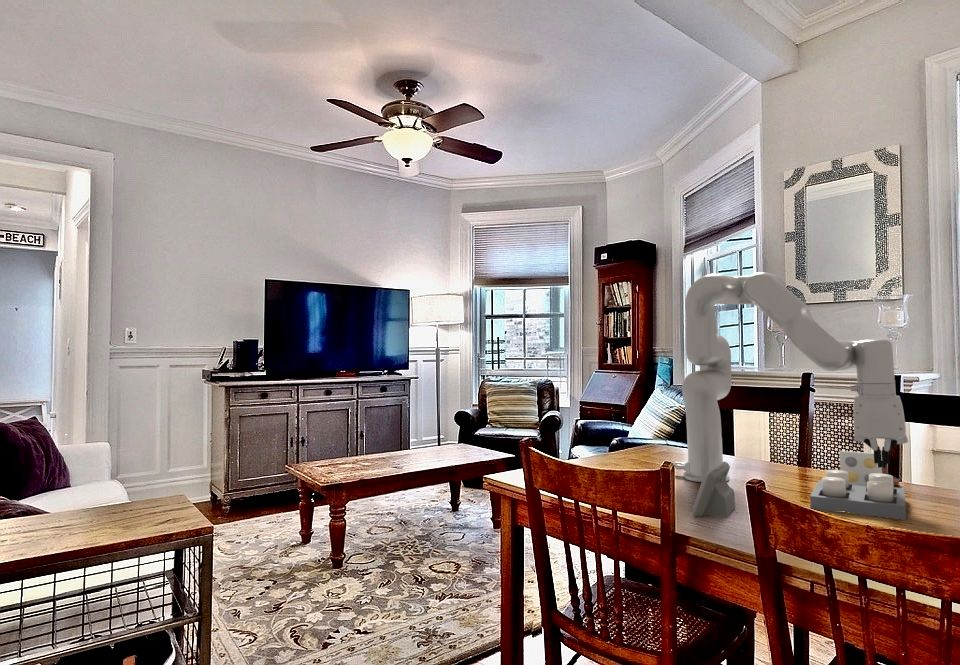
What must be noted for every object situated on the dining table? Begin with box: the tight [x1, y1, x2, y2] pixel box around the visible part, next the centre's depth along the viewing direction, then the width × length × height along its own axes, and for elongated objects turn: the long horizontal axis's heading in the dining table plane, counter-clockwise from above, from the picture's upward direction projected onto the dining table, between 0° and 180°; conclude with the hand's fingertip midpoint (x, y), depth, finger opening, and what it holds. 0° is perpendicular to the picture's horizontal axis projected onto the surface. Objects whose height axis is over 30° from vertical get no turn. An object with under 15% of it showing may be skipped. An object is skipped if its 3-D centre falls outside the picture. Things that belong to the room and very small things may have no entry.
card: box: [839, 450, 882, 485], centre depth 148 cm, size 10×3×10 cm, turn 54°
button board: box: [809, 479, 907, 521], centre depth 137 cm, size 18×18×3 cm
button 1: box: [821, 476, 846, 497], centre depth 136 cm, size 5×5×4 cm
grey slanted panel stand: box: [691, 461, 736, 518], centre depth 137 cm, size 16×9×11 cm, turn 133°
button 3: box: [867, 481, 894, 502], centre depth 131 cm, size 5×5×4 cm
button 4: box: [869, 473, 895, 492], centre depth 138 cm, size 5×5×4 cm
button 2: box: [825, 469, 849, 488], centre depth 143 cm, size 5×5×4 cm
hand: (882, 466), depth 138 cm, fingers closed
